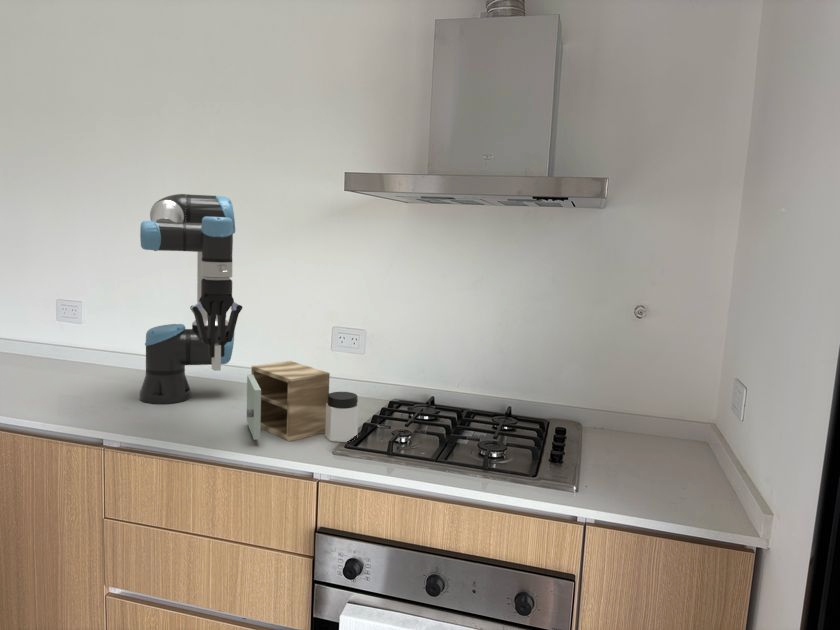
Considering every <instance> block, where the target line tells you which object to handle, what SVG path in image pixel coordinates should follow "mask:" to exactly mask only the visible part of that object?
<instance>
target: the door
mask: <svg viewBox="0 0 840 630" xmlns="http://www.w3.org/2000/svg"><path fill="white" fill-rule="evenodd" d="M246 377H247V379H246V380H247V381H246V423H247V426H248V428H249V430H250V433H251V436H252V438H253V440H261V428H260V425H261V389H260V387H259V385H258V383H257V381H256V379H255V377H254V375H251V374H247V376H246Z"/></svg>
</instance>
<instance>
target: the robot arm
mask: <svg viewBox="0 0 840 630" xmlns="http://www.w3.org/2000/svg"><path fill="white" fill-rule="evenodd" d="M234 212H235V211H234V206H233V202H232V200H231V199H230V198H229V197H226V196H221V195H208V194H207V195H206V194H205V195H203V194H188V193H187V194H186V193H178V194H171V195H167V196H165V197H163V198H160V199H158V200H157V201H156V202H154V204H153V205H152V206H151V209H150V212H149V218H150V220H143V221H141V223H140V227H139V228H140V229H139V230H140V234H139V235H140V236H139V238H140V247H141V249H142V250H145V251H146V250H147V251H154V252H158V251H162V252H163V251H165V252H193V253H194V252H196V253H197V262H196V263H197V267H196V268H197V269H196V270H197V272H196V273H197V275H196V277H197V278H196V279H197V286H196V287H197V289H196V290H197V291H196V292H197V294H196V296H197V298H196V299H197V300H196V301H197V302H196V304H195V305H194V304H193V305H190V310H191V312H192V313H193V315H194V319H195V320H194V321H193V322H192V324H191V327H192V328H186V326H185V325H184V324H183V323H172V324H163V325H157V326H153V327H152V328H151V327H150V328H149V329H148V330H146V331H147V332H146V334H145V343H144V346H145V376H144V379H143V382H142V385H141V388H140V391H139V400H140V401H142V402H144V403H146V404H147V403H148V404H156V405H159V404H160V405H163V404H166V405H167V404H175V403H181V402H185V401H187V400H189V399H190V398H191V395H192V394H191V388H190V384H189V381H188V379H187V376H186V368H185V367H186V366H206V365H207V366H209V365H211V370H213V371H221V369H222V368H221V367H222V366H221V365H227V364H229V362H230V361H231V359H232V356H233V355H232V354H233V349H234V344H235V343H234V342H235V330H236V325H237V322H238V317H239V314H240V313H241V311H242V310H243V305H241V304H238V303H236V302H235V300H234V297H233V280H232V279H231V278H232V277H233V249H234V247H233V244H234V234H236V219H235V213H234ZM229 310H231V311H230V315H229V318H228V320H227V313H228V311H229Z"/></svg>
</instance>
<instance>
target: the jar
mask: <svg viewBox="0 0 840 630" xmlns="http://www.w3.org/2000/svg"><path fill="white" fill-rule="evenodd" d="M358 426H359V405H358V395H357V394H356V393H354V392H350V391H333V392H329V394H328V403H327V404H326V424H325V433H324V436H325V438H326V439H327V440H328V441H330V442H334V443H335V442H337V443H348V442H347V441H349V440H350V439H351V438H353V437H354V436H356V435H357V436H358V428H359V427H358ZM349 442H350V441H349Z"/></svg>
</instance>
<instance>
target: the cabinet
mask: <svg viewBox="0 0 840 630" xmlns="http://www.w3.org/2000/svg"><path fill="white" fill-rule="evenodd" d="M250 372H251V373H250V375H254V377H255V379H256V381H257V383H258V385H259V387H260V389H261V425H260V430H263V431H266V432H268V433H270V434H272V435H275V436H276V437H279V438H281V439H283V440H285V441H288V442H292V441H295V440H299V439H303V438H308V437H311V436H317V435H320V434H325V424H326V404H327V403H328V394H330V377H331V376H330V375H331V374H330V372H328V371H325V370H322V369H318V368H315V367H312V366H308V365H305V364H301V363H299V362H296V361H292V360H286V361H285V360H284V361H278V362H272V363H271V362H270V363H264V364H256V365H251V371H250Z"/></svg>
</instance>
